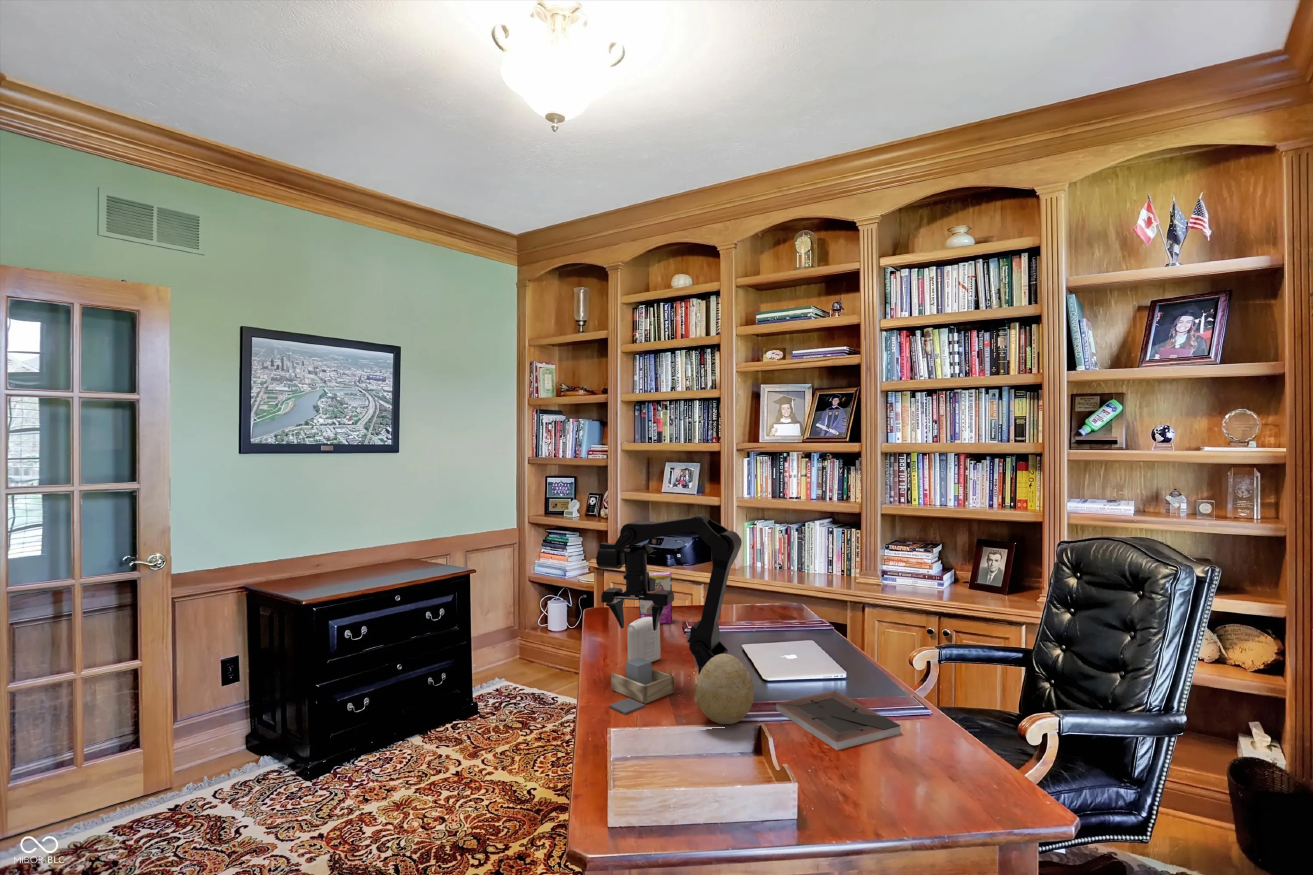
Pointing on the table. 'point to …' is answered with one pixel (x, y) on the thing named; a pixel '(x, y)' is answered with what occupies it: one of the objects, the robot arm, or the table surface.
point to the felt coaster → (627, 706)
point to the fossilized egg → (725, 689)
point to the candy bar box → (646, 606)
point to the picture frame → (838, 719)
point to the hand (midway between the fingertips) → (638, 629)
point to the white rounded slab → (643, 640)
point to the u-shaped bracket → (644, 686)
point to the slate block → (639, 671)
